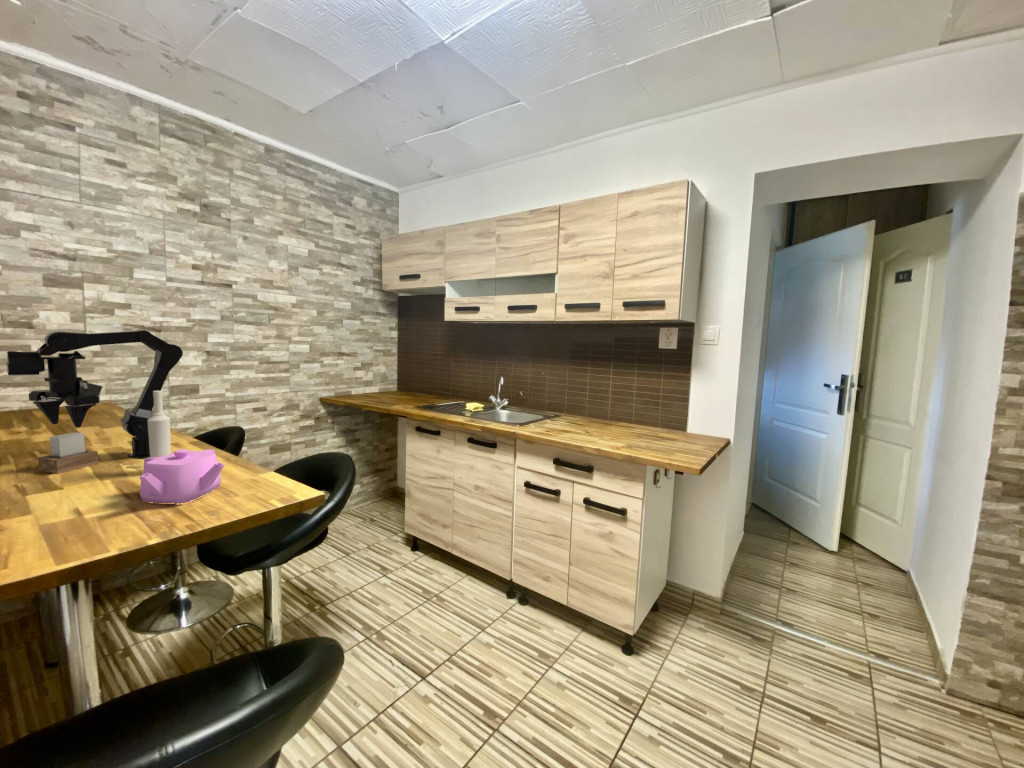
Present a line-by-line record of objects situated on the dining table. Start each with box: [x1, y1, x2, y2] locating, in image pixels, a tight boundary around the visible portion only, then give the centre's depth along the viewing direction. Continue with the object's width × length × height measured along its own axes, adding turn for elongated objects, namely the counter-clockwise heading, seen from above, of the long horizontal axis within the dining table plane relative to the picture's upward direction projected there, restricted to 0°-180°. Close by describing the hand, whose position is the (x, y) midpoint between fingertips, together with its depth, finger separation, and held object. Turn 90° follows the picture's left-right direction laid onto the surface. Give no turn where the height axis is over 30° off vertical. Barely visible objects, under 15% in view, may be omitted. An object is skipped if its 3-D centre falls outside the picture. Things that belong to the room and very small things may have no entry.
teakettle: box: [139, 448, 225, 504], centre depth 108 cm, size 17×17×12 cm
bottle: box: [147, 390, 172, 457], centre depth 122 cm, size 5×5×25 cm
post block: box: [37, 449, 99, 475], centre depth 122 cm, size 7×10×4 cm
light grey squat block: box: [49, 432, 86, 459], centre depth 122 cm, size 4×6×9 cm, turn 169°
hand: (66, 425), depth 121 cm, fingers open, 9 cm apart
